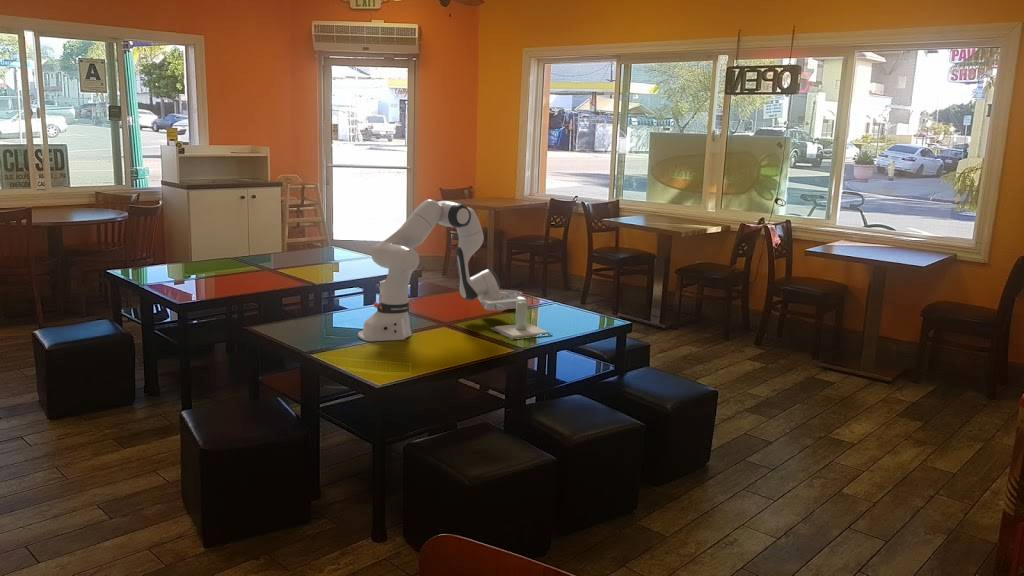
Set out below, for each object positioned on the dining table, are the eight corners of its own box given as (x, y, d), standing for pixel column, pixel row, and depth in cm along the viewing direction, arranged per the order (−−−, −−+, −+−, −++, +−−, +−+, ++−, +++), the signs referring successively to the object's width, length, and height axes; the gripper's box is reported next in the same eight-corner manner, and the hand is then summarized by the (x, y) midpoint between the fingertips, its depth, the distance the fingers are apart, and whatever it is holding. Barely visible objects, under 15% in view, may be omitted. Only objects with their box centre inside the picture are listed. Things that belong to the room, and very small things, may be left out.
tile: (511, 340, 333) (511, 336, 332) (490, 329, 350) (490, 326, 350) (552, 335, 342) (552, 332, 342) (529, 325, 359) (529, 322, 359)
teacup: (513, 311, 386) (513, 295, 385) (491, 308, 393) (492, 292, 391) (528, 306, 399) (529, 290, 397) (507, 303, 405) (508, 287, 404)
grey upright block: (518, 330, 342) (519, 303, 340) (513, 328, 347) (513, 301, 344) (528, 329, 345) (529, 303, 342) (523, 327, 349) (523, 300, 347)
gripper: (478, 296, 357) (492, 302, 345) (518, 292, 367) (533, 298, 355) (478, 309, 358) (492, 316, 346) (518, 306, 368) (532, 312, 356)
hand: (513, 307), depth 351 cm, fingers open, 8 cm apart
